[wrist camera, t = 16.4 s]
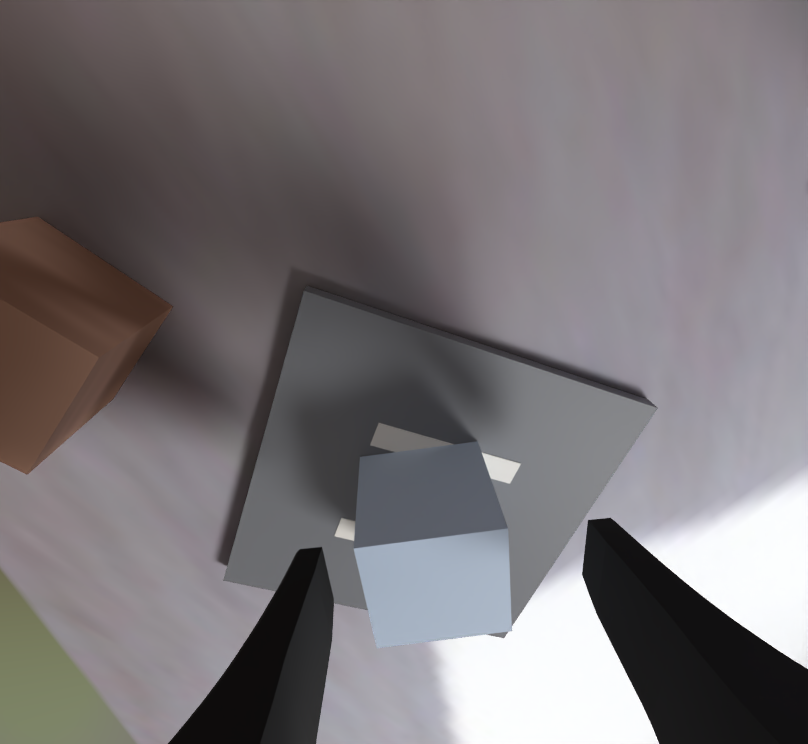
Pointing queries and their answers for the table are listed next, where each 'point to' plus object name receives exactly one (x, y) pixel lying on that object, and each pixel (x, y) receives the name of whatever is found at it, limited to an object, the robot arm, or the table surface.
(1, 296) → the terracotta block
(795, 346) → the table surface
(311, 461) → the board
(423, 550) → the pale blue cube
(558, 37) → the table surface
